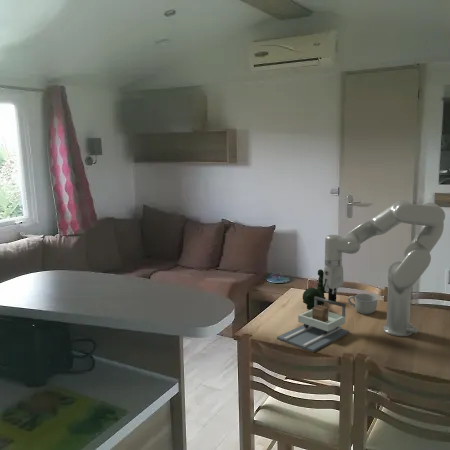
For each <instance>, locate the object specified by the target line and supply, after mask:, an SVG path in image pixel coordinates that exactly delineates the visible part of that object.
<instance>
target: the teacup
mask: <svg viewBox="0 0 450 450" xmlns="http://www.w3.org/2000/svg"><path fill="white" fill-rule="evenodd" d="M351 299H352V300H353V301H354V303H353V302H352V301H351ZM347 301H348V303H349V305H351V306H352V307H353V308H354V309H355V310H356V311H357V312H358V313H360V314H361V315H371V314H373V313H374V312H375V311H376V310H377V307H378V306H377V305H378V297H377V296H376V295H374V294H370V293H358V294H356V295H355V296H354V295H351V296H350V295H349V297H348V298H347Z"/></svg>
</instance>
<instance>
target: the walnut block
mask: <svg viewBox="0 0 450 450" xmlns="http://www.w3.org/2000/svg"><path fill="white" fill-rule="evenodd" d="M328 311H329V307H328V306H323V305H317V306H316V307H313V308H312V318H313V319H316V320H319V321H322V322H326V321H328Z"/></svg>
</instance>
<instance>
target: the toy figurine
mask: <svg viewBox="0 0 450 450" xmlns="http://www.w3.org/2000/svg"><path fill="white" fill-rule="evenodd" d="M323 274H324V269H318V270H317V276H318V278H317V281H318V282H317V284H316V285H317V287H316V288H315V287H308V288H306V289H305V290H304V291H303V293H302V302H303V304H305V305H306V309H307V311H309V310H311V309H312V308H313V307H314V297H315V296H316V297H320V298H324V299H327V298H326V296H325V294H326V292H327V291H325V287H324V286H323ZM318 305H321V306H323V305H325V302H323V301H319V300H317V306H318Z"/></svg>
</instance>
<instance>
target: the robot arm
mask: <svg viewBox="0 0 450 450" xmlns="http://www.w3.org/2000/svg"><path fill="white" fill-rule="evenodd" d="M445 219H446V213H445V211H444V209H443V208H442V207H441V206H440V205H438V204H436V203H434V202H426V203H423V204H416V203H410V202H409V201H408V200H405V199H401V200H398V201H396V202H394V203H393V204H391V205H390V206H388V207H387V208H385V209H383V210H382V211H381V212H379V213H377V214H376V215H375V216H373V217H372V218H369V219H368V220H366V221H365V222H362V223H361V224H359V225H358V226H355V228H353V229H352V230H350V231H349V232H347V233H346V234H345V235H344V236H343V237H342V236H341V235H338V234H329V235H326V236H325V240H324V242H325V243H324V268H323V272H324V274H323V286H324V287H325V291H326V292H327V294H328V296H327V300H331V301H335V302H337V293H338V289H339V288H340V287H342V286H343V285H344V268H343V264H342V263H343V254H351V255H353V254H358V252H359V251H360V249H361V244H363V243H365V242H366V241H367V240H370V238H373V237H376V236H381V235H385V234H387V233H388V232H390V231H391V230H393V229H394V228H395V227H397V226H398V225H400V224H408V225H417V226H421V228H420V229H419V231H418V232H417V233H416V235H415V236H414V238H413V239H412V240H411V242H410V243H409V244H408V245H407V246H406V248H405V249H404V252H403V255H404V259H403V260H402V261H400V260H399V261H395V262H393V263H391V265H390V266H389V268H388V270H387V301H386V302H387V305H386V323H385V324H384V325H383V326H382V330H383V332H384V333H385V334H388V335H391V336H394V337H408V336H411V335H412V334H418V331H419V330H418V327H417V326H413V325H412V322H411V321H410V318H411V314H410V313H411V299H412V298H411V297H412V296H411V295H412V287H414V285H415V284H416V283H417V281H418V280H419V279H420V278H421V276H422V275H423V274H424V273H425V271H426V270H427V269H428V267H429V266H430V264H431V260H432V256H431V255H432V254H431V252H432V251H433V249H434V247H435V246H436V245H437V244H438V242H439V240H440V239H441V237H442V235H443V232H444V229H445V228H444V224H445V223H444V222H445Z"/></svg>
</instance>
